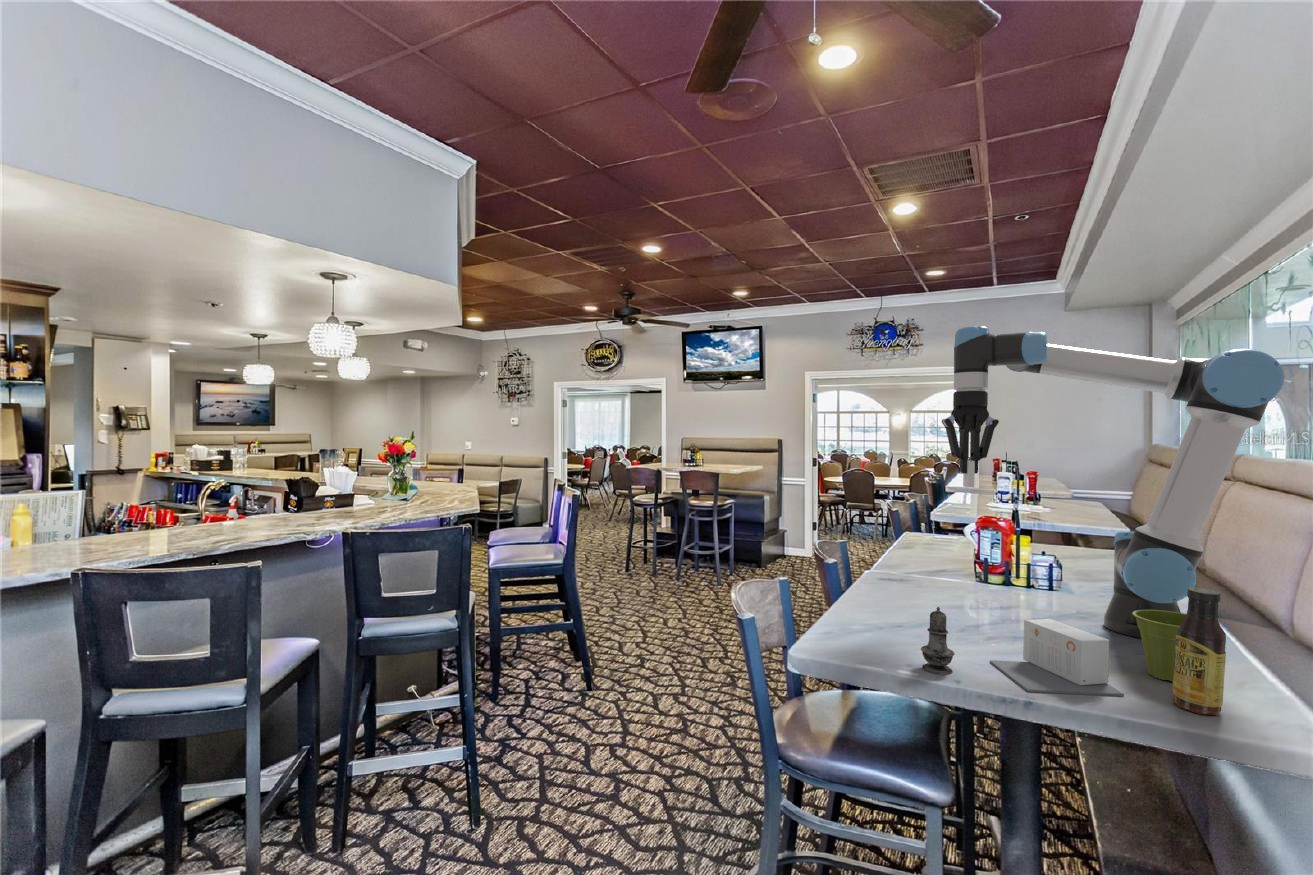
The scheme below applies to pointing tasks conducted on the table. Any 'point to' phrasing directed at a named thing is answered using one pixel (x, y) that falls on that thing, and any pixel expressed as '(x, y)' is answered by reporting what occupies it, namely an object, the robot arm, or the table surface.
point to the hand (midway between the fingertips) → (968, 486)
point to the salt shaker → (937, 646)
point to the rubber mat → (1048, 680)
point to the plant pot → (1159, 640)
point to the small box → (1066, 651)
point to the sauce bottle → (1200, 655)
